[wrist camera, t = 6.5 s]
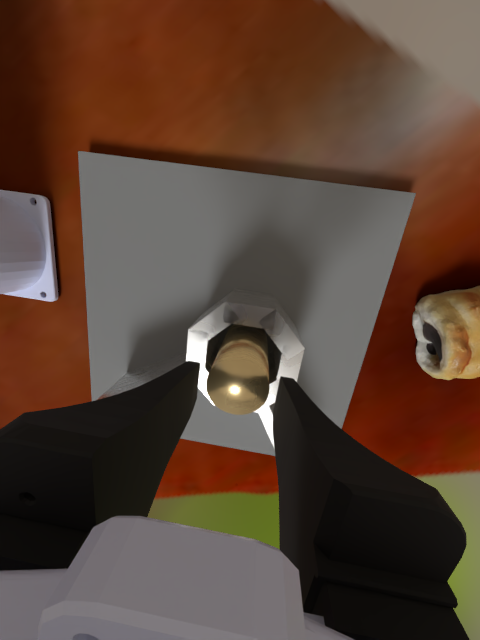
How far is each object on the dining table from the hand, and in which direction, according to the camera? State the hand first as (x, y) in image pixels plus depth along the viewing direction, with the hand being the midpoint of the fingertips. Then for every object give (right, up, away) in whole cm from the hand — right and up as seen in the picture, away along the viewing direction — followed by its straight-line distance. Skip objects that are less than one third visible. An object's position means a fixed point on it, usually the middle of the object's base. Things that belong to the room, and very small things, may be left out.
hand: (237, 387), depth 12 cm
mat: (-1, +3, +8) cm, 9 cm away
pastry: (+17, +3, +7) cm, 19 cm away
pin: (+1, +2, +5) cm, 6 cm away
